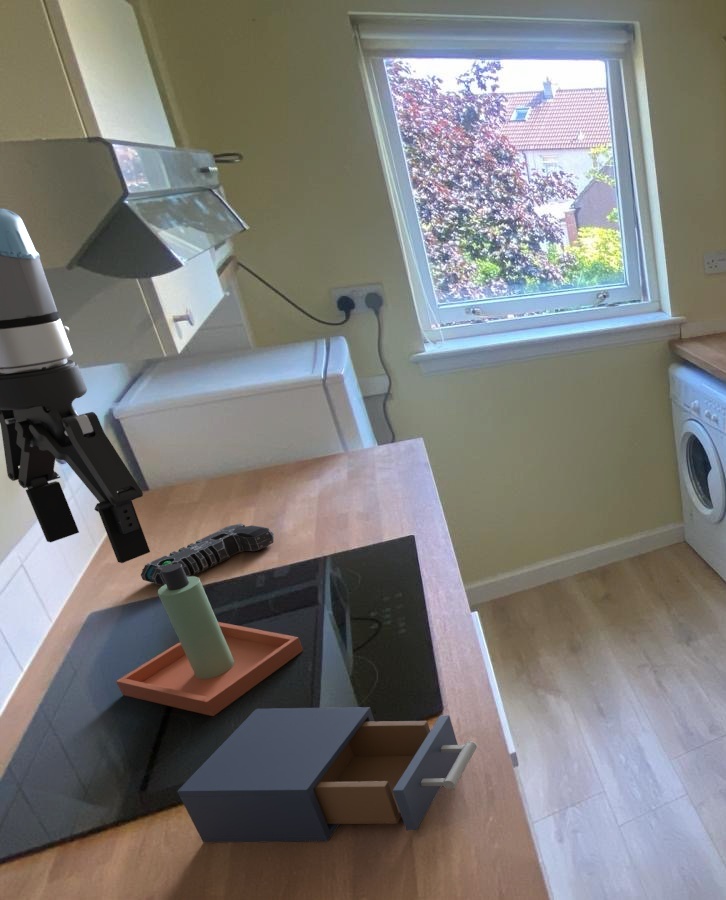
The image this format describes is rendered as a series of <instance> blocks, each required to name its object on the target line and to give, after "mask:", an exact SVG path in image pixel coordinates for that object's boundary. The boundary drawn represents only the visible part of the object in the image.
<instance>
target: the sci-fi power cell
mask: <svg viewBox="0 0 726 900" xmlns="http://www.w3.org/2000/svg"><path fill="white" fill-rule="evenodd" d="M274 540H275V533H274V532H273V531H272V530H271V529H270V528H269V527H265V526H260V525H246V524H243V523H237V524H231V525H227V526H225V527H223V528H220V529H219V530H218V531H215V532H213V533H211V534H208V535H207V536H204V537H202V538H200V539H198V540H196V541H195V543H193V542H191V543H189V544H187V546H186V547H185V546H183V547H180V548H179V549H178V550H177V551H176V550H174V551H172V552H170V553H169V554H168V555H163V556H160V557H158V558H156V559H154V560H152V561H150V562H147V563H145V564H144V566H143V568H142V569H141V573H140V577H141V578H142V580H143V581H146V582H149V583H153V584H155V585H158V586H161V587H162V586H163V585H165V584H166V583H165V581H164V579H163V576H162V574H161V572H160V571H161V569H162V568H164V567H166V566H168V565H171V564H177V563H179V564H181V565H182V567H183V569H184V572H185V574H186V576H187V577H191V576H193V577H195V576H196V575H198V574H199V573H201V572H204V571H206V570H207V569H208V568H212V567H215V566H216V565H217V564H221V563H222V562H224V561H226V560H230V558H231V557H232V556H234V555H236V554H238V553H242V552H248V551H249V552H258V551H260V550H262V549H265V548H266V547H268V546H270V545H271V544H273V543H274V542H275V541H274Z"/></svg>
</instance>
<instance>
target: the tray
mask: <svg viewBox="0 0 726 900" xmlns="http://www.w3.org/2000/svg"><path fill="white" fill-rule="evenodd" d="M217 622H218V624H219V626H220V629H221V631H222V633H223V636H224V638H225V640H226V643H227V645H228V647H229V650H230V652H231V655H232V657H233V659H234V665H233V666H232V667H231V668H230V669H229V670H228V671H227V672H225V673H223V674H221V675H219V676H217V677H214V678H210V679H198V678H196V676H195V674H194V672H193V669H192V667H191V665H190V663H189V661H188V658H187V656H186V654H185V652H184V650H183V647H182V645H181V643H180V641H179V642H177V643H175V644H174V645H173V646H171V647H169V648H168V649H166V650H164V651H163V652H161V653H160V654H158V655H156V656H155V657H153V658H151V659H150V660H149V661H146V662H145V663H143V664H141V665H139V666H138V667H137V668H135V669H133V670H132V671H130V672H128V673H126V674H125V675H123V676H122V677H120V678H118V679H117V680H116V682H115V683H116V685H117V687H118V688H119V691H120V692H121V694H122V695H123V696H125V697H129V698H134V699H138V700H143V701H147V702H151V703H156V704H159V705H163V706H167V707H171V708H176V709H179V710H185V711H189V712H193V713H196V714H197V713H198V714H201V715H206V716H210V717H215V716H216V715H217V714H219V713H220V712H221V711H223V710H224V709H225V708H227V707H229V706H230V705H231V704H232V703H233V702H235V701H237V700H238V699H239V698H240V697H242V696H243V695H245V694H246V693H248V692H249V691H250V690H251V689H253V688H254V687H255V686H257V685H258V684H260V683H261V682H262V681H264V680H266V678H268V677H269V676H271V675H272V674H273V673H275V672H276V671H278V670H279V669H280V668H282V667H283V666H284V665H285V664H287V663H288V662H290V661H291V660H293V659H294V658H295V657H296V656H298V655H300V654H301V653H302V652H303V651H304V648H303V646H302V643H301V641H300V638H299V637H298V636H295V635H288V634H283V633H279V632H278V633H277V632H272V631H268V630H267V631H266V630H261V629H256V628H253V627H247V626H243V625H242V626H241V625H235V624H231V623H225V622H220V621H217Z"/></svg>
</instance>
